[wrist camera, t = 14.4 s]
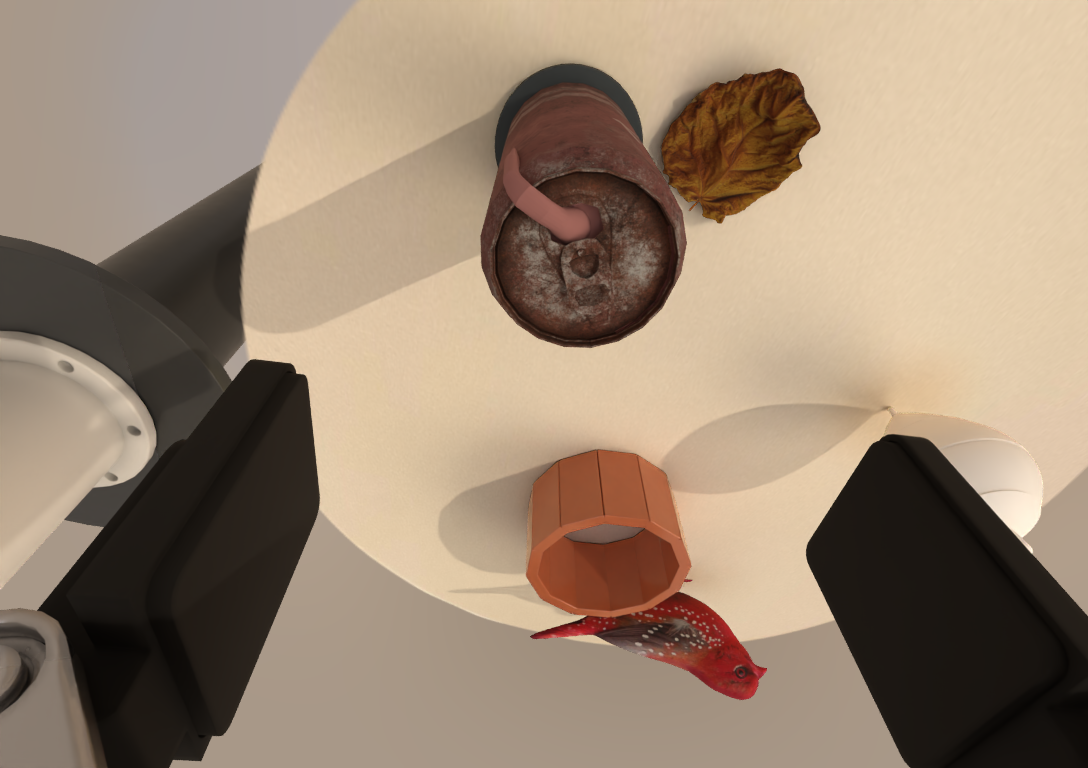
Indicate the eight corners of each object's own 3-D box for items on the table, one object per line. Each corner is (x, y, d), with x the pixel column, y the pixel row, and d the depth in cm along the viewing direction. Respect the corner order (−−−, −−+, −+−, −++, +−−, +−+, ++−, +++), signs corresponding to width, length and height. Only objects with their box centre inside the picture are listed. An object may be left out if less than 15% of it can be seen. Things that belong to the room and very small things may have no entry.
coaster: (488, 207, 29) (488, 210, 29) (504, 50, 25) (503, 51, 25) (622, 228, 30) (623, 231, 30) (658, 78, 26) (660, 79, 25)
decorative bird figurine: (733, 588, 49) (771, 710, 40) (530, 578, 48) (527, 699, 40) (742, 568, 47) (784, 690, 39) (532, 557, 46) (530, 679, 38)
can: (555, 44, 25) (564, 94, 13) (656, 141, 27) (738, 254, 16) (477, 156, 27) (427, 277, 16) (574, 235, 30) (592, 390, 18)
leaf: (638, 130, 27) (642, 143, 26) (775, 32, 24) (786, 42, 23) (699, 228, 31) (704, 243, 30) (825, 153, 28) (837, 166, 26)
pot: (521, 542, 45) (518, 609, 40) (541, 442, 39) (540, 508, 34) (651, 555, 46) (663, 623, 41) (690, 460, 40) (711, 526, 35)
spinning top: (927, 449, 39) (1054, 604, 29) (817, 452, 39) (906, 606, 30) (972, 358, 35) (1139, 503, 25) (847, 361, 35) (965, 507, 25)
